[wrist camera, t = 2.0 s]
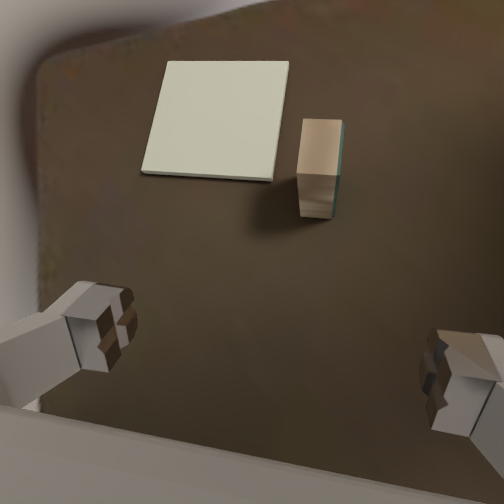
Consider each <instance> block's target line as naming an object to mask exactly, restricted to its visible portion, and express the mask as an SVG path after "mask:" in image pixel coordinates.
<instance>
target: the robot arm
mask: <svg viewBox="0 0 504 504" xmlns="http://www.w3.org/2000/svg"><path fill="white" fill-rule="evenodd" d="M133 301H134V297H133V292H132V290H131V289H130V288H128V287H122V286H116V285H109V284H103V283H95V282H88V281H79V282H77V283H75V284H74V285H73V286H72V287H71V288H70V289H69V290H68V291H66V292H65V293H64V294H63V295H62V296H61V297H60V298H59V299H57V300H56V301H55V302H54V303H53V304H52V305H51V306H50V307H48V308H47V309H46V310H45V311H44V312H43V313H38V312H37V313H34V314H32V315H29V316H26V317H24V318H21V319H19V320H16V321H14V322H11V323H8V324H6V325H3V326H0V504H486V503H481V502H476V501H471V500H466V499H461V498H457V497H452V496H447V495H442V494H437V493H432V492H427V491H422V490H417V489H413V488H408V487H403V486H398V485H393V484H388V483H383V482H378V481H373V480H368V479H364V478H359V477H354V476H349V475H344V474H339V473H334V472H329V471H324V470H319V469H315V468H310V467H305V466H300V465H295V464H290V463H285V462H280V461H275V460H270V459H265V458H261V457H256V456H251V455H246V454H241V453H236V452H231V451H226V450H221V449H216V448H212V447H207V446H202V445H197V444H192V443H187V442H182V441H177V440H172V439H167V438H162V437H158V436H153V435H148V434H143V433H138V432H133V431H128V430H123V429H118V428H113V427H109V426H104V425H99V424H94V423H89V422H84V421H79V420H74V419H69V418H64V417H59V416H55V415H50V414H45V413H40V412H35V411H30V410H25V409H21V408H22V407H24V406H25V405H27V404H28V403H30V402H32V401H33V400H35V399H36V398H38V397H39V396H41V395H42V394H44V393H46V392H47V391H49V390H50V389H52V388H53V387H55V386H56V385H58V384H59V383H61V382H63V381H64V380H66V379H67V378H69V377H70V376H72V375H73V374H75V373H76V372H78V371H80V368H81V369H88V370H95V371H102V372H110V370H111V369H112V367H113V366H114V365H115V363H116V362H117V360H118V359H119V358H120V356H121V351H120V348H122V347H124V346H126V345H128V344H129V343H130V342H131V340H132V339H133V337H134V335H135V332H136V329H137V320H138V319H137V313H136V311H135V310H134V309H133V308H132V307H131V304H132V302H133ZM427 342H428V345H429V350H427V351H426V352H424V353H423V355H422V359H421V362H420V371H419V377H420V385H421V389H422V391H423V392H424V393H425V394H426V395H427V396H428V399H427V402H426V405H425V406H426V410H427V414H428V418H429V422H430V426H431V430H436V431H441V432H446V433H451V434H456V435H461V436H466V437H470V440H471V441H472V442H473V443H474V445H475V446H476V447H477V448H478V449H479V451H480V452H481V453H482V454H483V455H484V456H485V458H486V459H487V460H488V461H489V462H490V464H491V465H492V466H493V467H494V468H495V470H496V471H497V472H498V473H499V474H500V476H501V477H502V478H503V479H504V339H503V338H502V337H500V336H499V335H491V334H482V333H476V334H475V333H468V332H460V331H452V330H444V329H437V328H432V330H431V331H430V333H429V336H428V339H427Z"/></svg>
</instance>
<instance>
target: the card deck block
mask: <svg viewBox="0 0 504 504" xmlns="http://www.w3.org/2000/svg"><path fill="white" fill-rule="evenodd" d="M344 126H345V123H342V120H325V119H303V127H302V134H301V142H300V150H299V158H298V166H297V184H298V195H299V207H300V216H301V217H313V218H326V219H331V217H334V212H335V205H336V198H337V192H338V185H339V178H340V168H341V158H342V147H343V136H344Z"/></svg>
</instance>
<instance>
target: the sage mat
mask: <svg viewBox="0 0 504 504" xmlns="http://www.w3.org/2000/svg"><path fill="white" fill-rule="evenodd" d="M288 70H289V61H168V63H167V67H166V71H165V75H164V79H163V83H162V87H161V92H160V96H159V100H158V104H157V108H156V112H155V116H154V120H153V124H152V128H151V132H150V136H149V140H148V144H147V148H146V152H145V156H144V161H143V165H142V169H141V171H142V172H143V173H147V174H163V175H179V176H195V177H211V178H227V179H243V180H259V181H272V180H273V173H274V166H275V159H276V152H277V146H278V139H279V132H280V125H281V118H282V111H283V104H284V97H285V90H286V83H287V77H288Z"/></svg>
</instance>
